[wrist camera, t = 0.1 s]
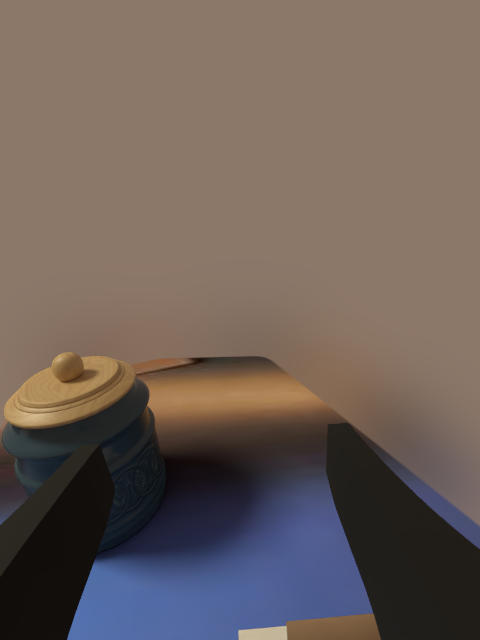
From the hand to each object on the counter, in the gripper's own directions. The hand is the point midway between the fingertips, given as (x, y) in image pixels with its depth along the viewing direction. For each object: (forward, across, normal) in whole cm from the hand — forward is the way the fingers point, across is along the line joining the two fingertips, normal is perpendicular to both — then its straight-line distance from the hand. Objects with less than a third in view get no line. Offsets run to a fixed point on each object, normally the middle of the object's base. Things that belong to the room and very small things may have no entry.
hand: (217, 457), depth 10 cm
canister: (+17, +15, +23) cm, 33 cm away
